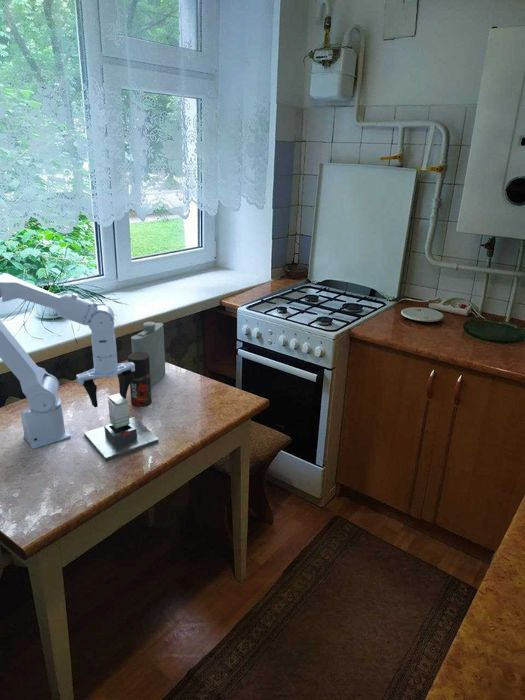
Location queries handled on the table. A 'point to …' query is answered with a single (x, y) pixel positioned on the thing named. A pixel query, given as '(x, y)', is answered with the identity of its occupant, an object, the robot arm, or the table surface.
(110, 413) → the column
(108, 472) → the table surface
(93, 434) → the base plate with holder
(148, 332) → the hip flask
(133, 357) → the deodorant
